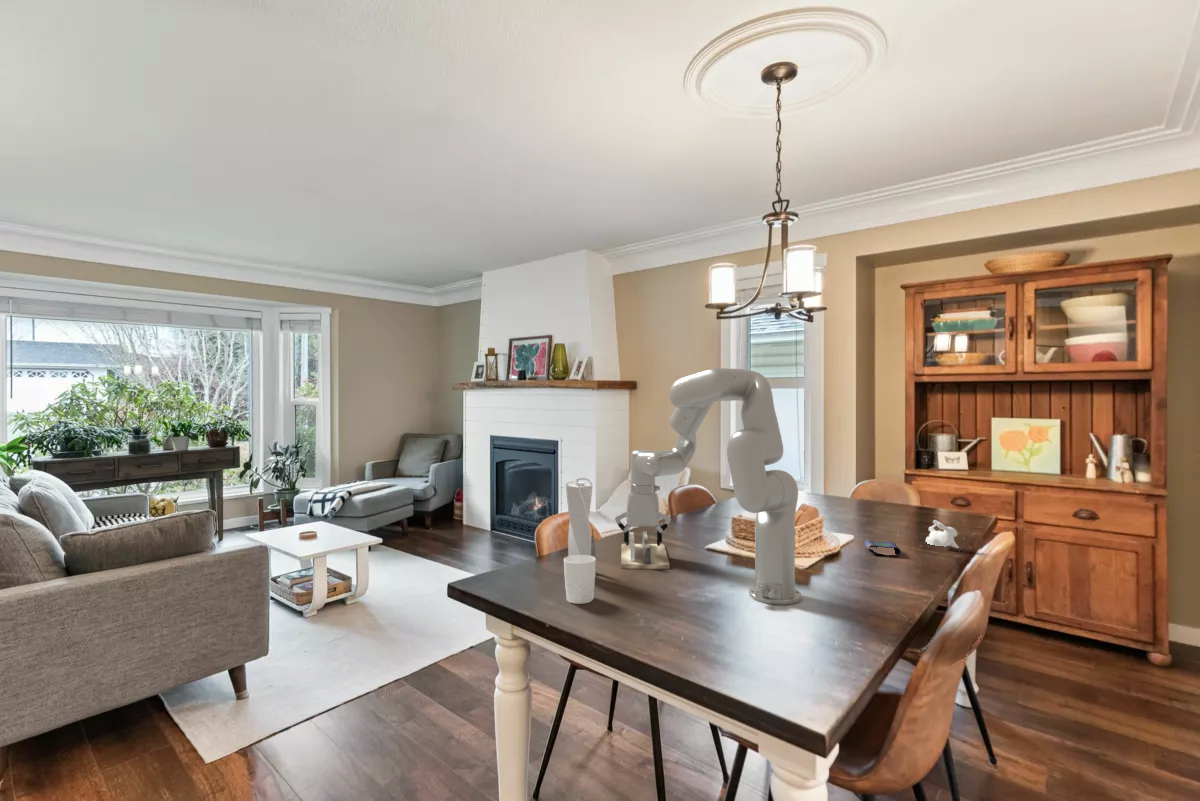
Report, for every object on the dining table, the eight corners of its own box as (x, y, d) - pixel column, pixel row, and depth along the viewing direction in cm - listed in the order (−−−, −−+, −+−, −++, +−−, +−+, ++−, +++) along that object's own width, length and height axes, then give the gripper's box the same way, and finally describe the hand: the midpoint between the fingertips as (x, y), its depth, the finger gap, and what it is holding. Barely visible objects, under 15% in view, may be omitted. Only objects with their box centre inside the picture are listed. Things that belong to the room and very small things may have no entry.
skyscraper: (595, 582, 156) (594, 478, 156) (565, 582, 156) (564, 478, 156) (596, 573, 164) (595, 474, 164) (567, 573, 164) (567, 474, 164)
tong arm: (633, 546, 188) (633, 532, 188) (634, 561, 170) (634, 546, 170) (629, 546, 188) (629, 532, 188) (630, 561, 170) (629, 546, 170)
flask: (868, 544, 180) (863, 538, 190) (868, 554, 180) (863, 547, 190) (901, 547, 178) (894, 540, 188) (901, 557, 177) (894, 550, 188)
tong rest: (663, 548, 191) (663, 530, 191) (669, 569, 167) (669, 549, 167) (621, 548, 191) (621, 530, 191) (621, 569, 167) (621, 548, 167)
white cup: (597, 594, 146) (597, 554, 146) (594, 605, 138) (593, 563, 138) (566, 593, 147) (566, 554, 147) (561, 604, 139) (561, 563, 139)
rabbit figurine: (966, 553, 183) (966, 522, 184) (949, 555, 181) (949, 524, 181) (932, 544, 195) (932, 515, 195) (916, 546, 192) (915, 517, 192)
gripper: (670, 487, 182) (669, 542, 183) (615, 487, 183) (615, 541, 183) (671, 491, 175) (671, 548, 175) (614, 491, 176) (614, 547, 176)
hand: (642, 544), depth 179 cm, fingers open, 9 cm apart
